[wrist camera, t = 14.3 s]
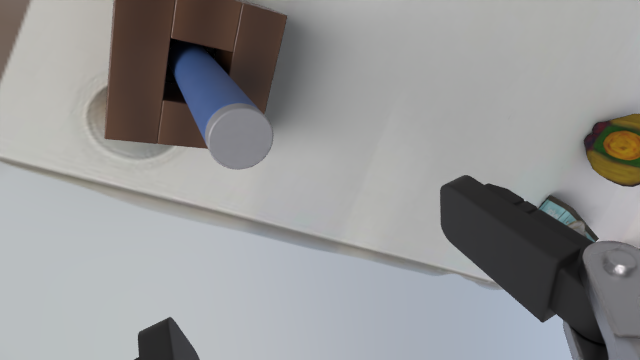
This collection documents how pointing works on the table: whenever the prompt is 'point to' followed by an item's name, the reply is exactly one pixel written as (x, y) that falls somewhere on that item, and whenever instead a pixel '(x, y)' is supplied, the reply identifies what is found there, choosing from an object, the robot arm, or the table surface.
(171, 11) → the holder
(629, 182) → the figurine
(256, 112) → the handle
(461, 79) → the table surface
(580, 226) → the camera
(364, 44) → the table surface
